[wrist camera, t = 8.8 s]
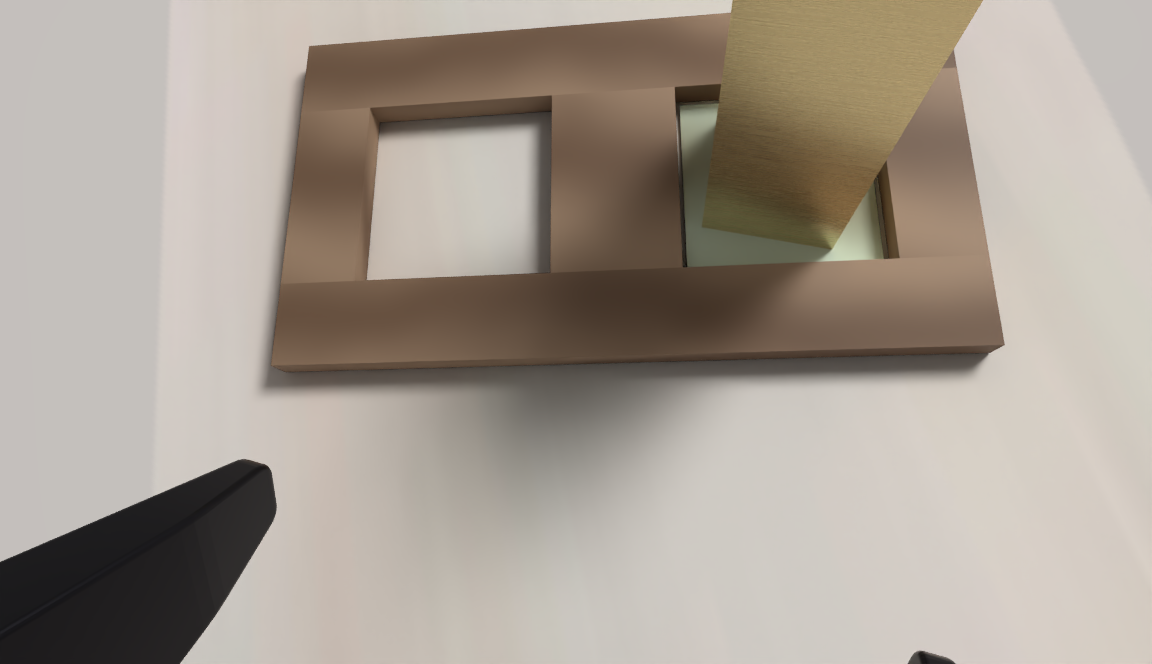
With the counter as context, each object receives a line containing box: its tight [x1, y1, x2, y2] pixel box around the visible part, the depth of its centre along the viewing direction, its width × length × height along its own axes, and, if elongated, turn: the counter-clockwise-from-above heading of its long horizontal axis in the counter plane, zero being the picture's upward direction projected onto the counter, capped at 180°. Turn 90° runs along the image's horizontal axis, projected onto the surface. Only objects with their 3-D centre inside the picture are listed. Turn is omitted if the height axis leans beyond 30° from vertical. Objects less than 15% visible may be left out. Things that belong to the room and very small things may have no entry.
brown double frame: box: [271, 13, 1005, 372], centre depth 26 cm, size 13×24×1 cm, turn 90°
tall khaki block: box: [702, 0, 983, 249], centre depth 20 cm, size 4×4×12 cm
